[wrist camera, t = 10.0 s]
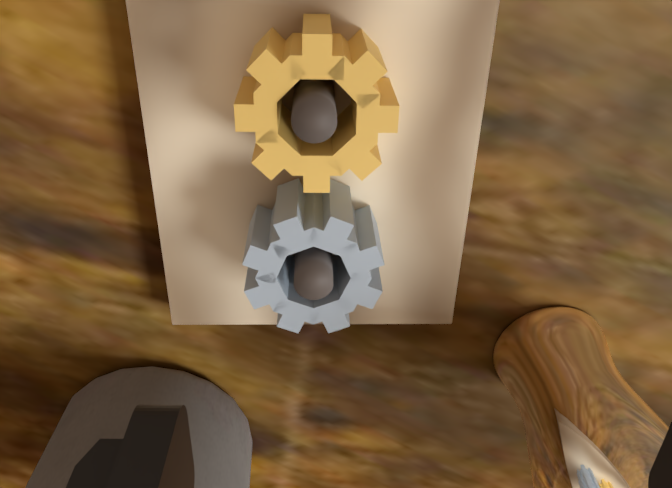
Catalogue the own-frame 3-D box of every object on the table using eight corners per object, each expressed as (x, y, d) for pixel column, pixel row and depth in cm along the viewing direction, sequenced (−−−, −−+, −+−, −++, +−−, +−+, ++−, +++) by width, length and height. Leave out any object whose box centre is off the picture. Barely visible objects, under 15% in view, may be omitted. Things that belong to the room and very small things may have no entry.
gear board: (518, -210, 21) (577, -235, 16) (446, 306, 32) (468, 379, 28) (105, -223, 21) (44, -253, 16) (178, 306, 32) (154, 381, 27)
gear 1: (393, 15, 23) (404, 35, 20) (383, 157, 26) (393, 193, 23) (239, 12, 23) (228, 33, 20) (247, 156, 26) (239, 192, 23)
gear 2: (350, 158, 26) (355, 195, 23) (393, 264, 29) (403, 309, 26) (227, 204, 27) (217, 245, 24) (281, 302, 30) (277, 350, 27)
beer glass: (477, 314, 33) (583, 596, 20) (609, 285, 32) (808, 559, 19) (491, 405, 36) (590, 695, 23) (611, 381, 36) (780, 666, 23)
